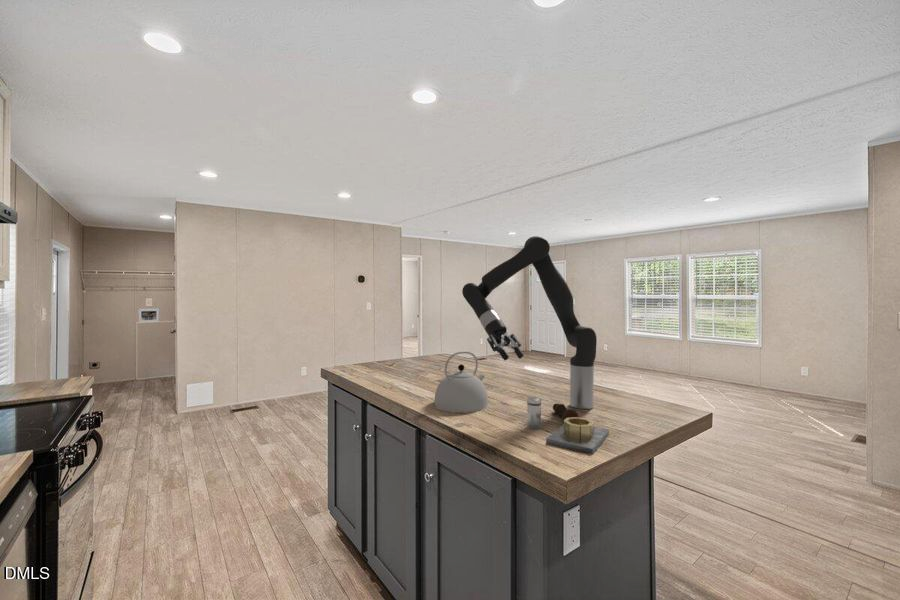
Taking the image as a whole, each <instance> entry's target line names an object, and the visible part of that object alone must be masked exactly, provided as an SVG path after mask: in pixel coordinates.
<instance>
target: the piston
mask: <svg viewBox="0 0 900 600" xmlns="http://www.w3.org/2000/svg"><path fill="white" fill-rule="evenodd" d="M526 399H527V400H526V401H527V402H526V403H527V409H526V412H527V415H526V422H527V423H526V424H527V425H526V427H527V428H528V429H530V430H540V429H542V398H540V397H537V396H529V397H526Z"/></svg>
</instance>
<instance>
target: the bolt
mask: <svg viewBox="0 0 900 600" xmlns="http://www.w3.org/2000/svg"><path fill="white" fill-rule="evenodd" d="M552 410H553V412H554V413H555V415H556V416H557V417H561V418H562V419H563V421H564V420H565V419H566V418H571V417H579V418H580V416H579V414H578V413H577V411H576V410H575V409H574V408H573V409H567V407H566V406H565V404H563V403H553V405H552Z"/></svg>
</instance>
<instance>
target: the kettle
mask: <svg viewBox="0 0 900 600" xmlns="http://www.w3.org/2000/svg"><path fill="white" fill-rule="evenodd" d="M460 354H467V355H471V356H472V357H473V358H474V360H475V367H474V368H475V369H474V372H473V373H471V372H469V371H464V370H465V366H464V364H463V363H462V364H458V366H457V369H458V371H455V372H454V371H453V372H452V373H448V371H447V370H448V365H449V362H450V361H451V360H452V358H453V357H454V356H456V355H457V356H458V355H460ZM478 363H479V362H478V358H477V356H476V355H475V354H474V353H473V352H470V351H458V352H454V353H452V354H451V355H449V357H448V358H447V360H446V363H445V364H444V374H445V377H444V378H443V379H442V380H440V382H439V383H438V385H437V387H436V390H435V392H434V405H435V406H436V407H437V408H439V409H441V410H440V411H442V410H445V411H444V412H447V411H451V412H450V413H454V412H463V413H462V414H465V413H466V414H467V412H471V413H476V411H478V412H481V410H482V411H483V410H486V409H487V408H488V407H489V397H488V392H487V389H486V386H485V385H484V384H485V383H483V382H482V381H483V379H484V378H485V377H486V375H484V374H482V373H480V374H479V375H478V376H476V374H477V372H478V368H479V367H478ZM434 405H433V406H434ZM435 406H434V407H435ZM436 407H435V408H436ZM437 408H436V409H437ZM439 409H438V410H439Z"/></svg>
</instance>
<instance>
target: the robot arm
mask: <svg viewBox="0 0 900 600" xmlns="http://www.w3.org/2000/svg"><path fill="white" fill-rule="evenodd" d="M550 248H551V247H550V243H549V241H548V240H547V239H546V238H544V237H541V236H537V235H536V236H531V237H530V236H529V238H527V239H526V241H525V242H524V245H523V248H522V249H520V251H518V252H517V254H515V255H513V256H512V257H511V258H509V259H507V260H505V261H503V262H502V263H499V265H497V266H495V267H494V268H492V269H491V270H490V271H488V272H486V273H485V274H484V275H483V276H482V277H481V282H480V283H479V284H478V285H477V284H476V283H473V282H468V283H466V284H464V286H463V288H462V289H461V293H462V295H463V298H464V300H465V302H467V303H468V305H469V306H470V307H471V308H472V310H473V312H474V313H475V315H476V317H477V318H478V320H479V322H480V324H481V326H482V327H483V329H484V331H485V332H486V334H487V336H488V337H487V338H486V341H487V343H488V344H489V346H490V348H491V349H492V351H493V352H495V353H496V352H497V353H499V355H500V357H501V358H502V360H503V361H507V360H508V359H509V358H510V357H509V354H508V353H507V351H506V350H505V348H504V347H507V348H509V349H511V350H512V351H513V352H514V353H515V355H516V357H517V358H518V359H520V360H521V359H522V358H524V353H523V352H522V350H521V347H522V343H521V342H520V341H519V340H518V338H517V336H516V335H515V334H514V333H511V334H508V332H507V329H508V328H507V326H506V324H504V322H503V320H502V319H501V317H500V316H499V314H498V313H497V312H496V311H495V309H494V308H493V306H492V305H491V303H489V302H488V301H487V298H488V296H489V295H491V294H492V292H493V291H494V290H495V289H497V288H498V287H499V286H501V285H502V284H504V283H505V282H506V281H508V280H509V279H510V278H512V277H513V276H515V275H516V274H517V273H519V272H520V271H522V270H523V269H525V268H527V267H529V266H530V265H533V267H534V269H535V271H536V273H537V275H538V277H539V281H540V282H541V285H542V288H543V290H544V292H545V295H546V297H547V299H548V301H549V303H550V305H551V306H552V308H553V310H554V312H555V314H556V316H557V318H558V319H559V322H560V325H561V327H562V330H563V333H564V336H565V339H566V341H567V343H568V344H569V345H570V346H572V347H573V348H576V349H575V355H574V356H571V357H570V360H569V363H570V364H569V366H570V367H569V373H570V374H569V375H570V377H569V381H570V382H569V406H570V407H572V408H573V409H574V408H575V409H581V410H589V409H593V408H594V386H595V385H594V382H595V381H594V379H595V378H594V377H595V376H594V364H595V363H594V362H595V360H596V356H597V343H598V342H597V334H596V331H595V330H594V329H593V328H592V327H589V326H582V325H581V324H580V322H579V321H578V319H577V316H576V315H575V310H574V296H573V294H572V291H571V289H570V287H569V286H568V283H567V282H566V280H565V278H564V277H563V275H562V274H561V273H560V271H559V270H558V269H557V267H556V266H555V264H554V263H553V261H552V258H551V256H550Z"/></svg>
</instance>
